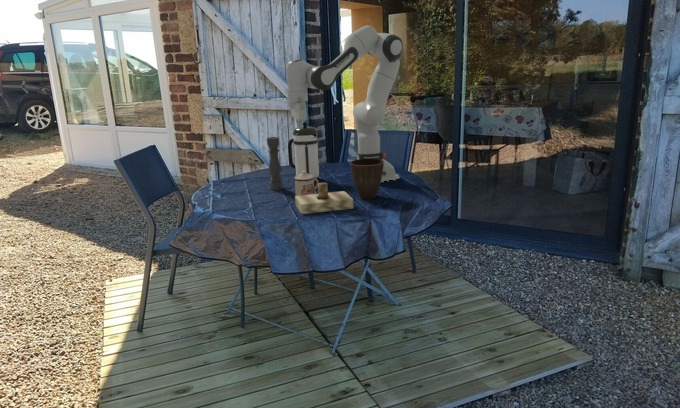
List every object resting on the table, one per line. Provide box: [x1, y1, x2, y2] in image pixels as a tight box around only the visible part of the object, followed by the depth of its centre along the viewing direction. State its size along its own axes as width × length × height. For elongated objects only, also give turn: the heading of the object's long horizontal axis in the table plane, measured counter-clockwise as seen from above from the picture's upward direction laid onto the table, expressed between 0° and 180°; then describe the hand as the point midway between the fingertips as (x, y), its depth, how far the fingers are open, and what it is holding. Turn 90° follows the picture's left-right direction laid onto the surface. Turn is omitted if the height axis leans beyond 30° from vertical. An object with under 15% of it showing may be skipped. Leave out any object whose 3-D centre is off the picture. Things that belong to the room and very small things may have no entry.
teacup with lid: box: [293, 171, 320, 196], centre depth 223 cm, size 12×9×12 cm
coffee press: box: [287, 121, 323, 182], centre depth 251 cm, size 17×16×30 cm
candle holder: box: [266, 136, 284, 191], centre depth 236 cm, size 6×6×25 cm
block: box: [294, 190, 354, 215], centre depth 206 cm, size 22×14×4 cm, turn 105°
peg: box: [317, 182, 329, 200], centre depth 205 cm, size 4×4×10 cm
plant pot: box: [349, 159, 384, 200], centre depth 217 cm, size 15×15×16 cm
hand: (299, 128), depth 220 cm, fingers closed
